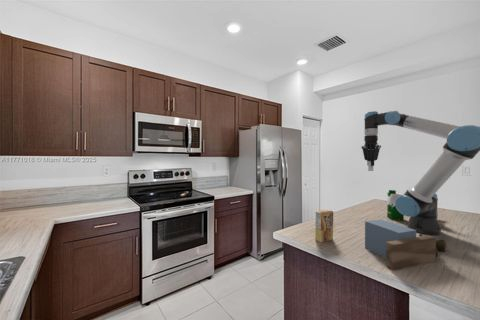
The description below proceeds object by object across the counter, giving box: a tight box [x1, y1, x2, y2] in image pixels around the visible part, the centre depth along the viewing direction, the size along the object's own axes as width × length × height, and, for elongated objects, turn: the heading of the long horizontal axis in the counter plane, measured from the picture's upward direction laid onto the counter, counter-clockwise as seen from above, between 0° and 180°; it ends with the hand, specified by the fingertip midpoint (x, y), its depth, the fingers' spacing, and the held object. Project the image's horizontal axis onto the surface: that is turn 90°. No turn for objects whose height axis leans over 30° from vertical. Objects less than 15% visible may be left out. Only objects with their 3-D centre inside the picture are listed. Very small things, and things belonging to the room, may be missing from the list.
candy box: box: [314, 209, 334, 243], centre depth 110 cm, size 9×4×15 cm, turn 116°
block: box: [364, 219, 417, 259], centre depth 95 cm, size 16×10×13 cm, turn 17°
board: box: [385, 234, 437, 271], centre depth 86 cm, size 3×24×10 cm, turn 107°
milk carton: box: [386, 189, 405, 221], centre depth 147 cm, size 9×9×20 cm
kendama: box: [418, 233, 447, 259], centre depth 97 cm, size 6×10×20 cm
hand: (370, 170), depth 139 cm, fingers closed
